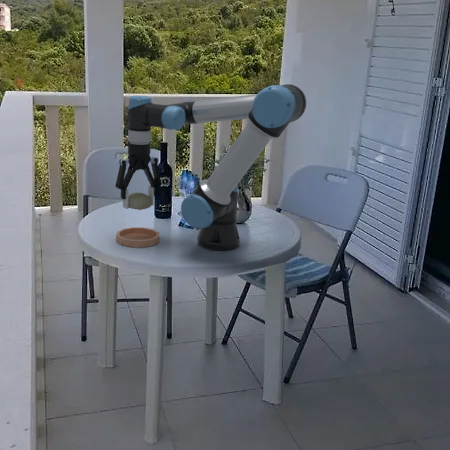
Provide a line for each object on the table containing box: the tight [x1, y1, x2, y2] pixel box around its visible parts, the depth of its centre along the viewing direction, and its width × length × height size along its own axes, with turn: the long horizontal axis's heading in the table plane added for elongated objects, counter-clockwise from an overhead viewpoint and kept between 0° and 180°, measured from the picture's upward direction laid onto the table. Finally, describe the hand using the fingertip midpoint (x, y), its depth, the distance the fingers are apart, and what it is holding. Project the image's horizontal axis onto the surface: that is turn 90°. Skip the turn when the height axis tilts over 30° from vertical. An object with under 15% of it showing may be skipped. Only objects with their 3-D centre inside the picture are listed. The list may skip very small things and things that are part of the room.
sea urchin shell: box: [128, 192, 152, 211], centre depth 200 cm, size 9×8×8 cm
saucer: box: [115, 226, 160, 249], centre depth 204 cm, size 15×15×2 cm
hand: (138, 206), depth 201 cm, fingers closed on sea urchin shell, 9 cm apart
